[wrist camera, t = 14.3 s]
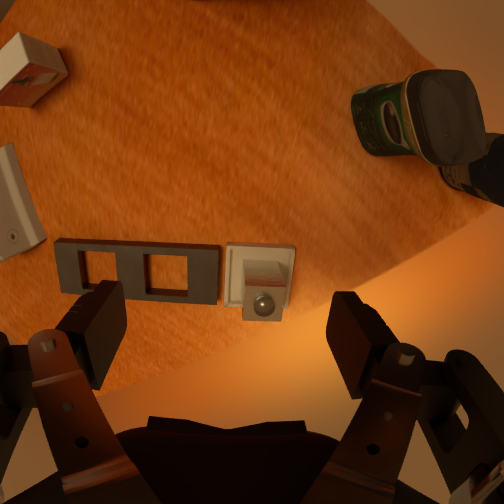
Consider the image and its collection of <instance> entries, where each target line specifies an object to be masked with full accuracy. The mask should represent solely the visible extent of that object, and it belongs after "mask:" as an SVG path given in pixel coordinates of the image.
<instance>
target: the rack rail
mask: <svg viewBox="0 0 504 504" xmlns="http://www.w3.org/2000/svg"><path fill="white" fill-rule="evenodd" d="M54 250H55V257H56V264H57V270H58V276H59V282H60V287H61V293H69V294H78V295H84V294H86V293H87V292H89V291H91V292H93V291H94V289H95V288H96V287H97V286H98V284H92V283H87V276H86V269H85V261H84V252H83V251H98V252H115V257H116V268H117V278H118V281H121V282H122V285H123V290H124V299H131V300H144V301H158V302H173V303H189V304H208V305H217V292H218V262H219V245H207V244H185V243H163V242H141V241H118V240H95V239H71V238H59V239H58V240H56V241H55V242H54ZM147 254H156V255H176V256H187V267H188V290H174V289H158V288H149V284H148V267H147Z"/></svg>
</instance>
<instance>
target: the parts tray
mask: <svg viewBox="0 0 504 504" xmlns="http://www.w3.org/2000/svg"><path fill="white" fill-rule="evenodd" d="M295 250H296V249H295V247H294V245H279V244H260V243H240V242H227V249H226V270H225V293H224V307H242V303H241V277H242V263H243V259H249V260H270V261H277V263H278V266H279V269H280V272H281V275H282V277H283V280H284V283H285V286H286V291H285V298H284V305H283V308H287V309H288V302H289V295H290V288H291V281H292V273H293V265H294V258H295Z"/></svg>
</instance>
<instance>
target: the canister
mask: <svg viewBox="0 0 504 504" xmlns="http://www.w3.org/2000/svg"><path fill="white" fill-rule="evenodd" d="M439 167H440V171H441V174H442V176H443V178H444V180H445V181H446V182H447V184H448V185H450V186H451V187H452V188H454V189H456V190H459V191H464V192H466V193H468V194H471V195H473V196H475V197H478V198H480V199H483V200H486V201H489V202H492V203H494V204H497V205H499V206H502V207H504V134H498V133H486V147H485V152H484V156H483V157H482V158H480V159H478V160H476V161H473V162H470V163H467V164H463V165H456V166H439Z"/></svg>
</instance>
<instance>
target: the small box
mask: <svg viewBox="0 0 504 504" xmlns="http://www.w3.org/2000/svg"><path fill="white" fill-rule="evenodd" d="M67 76H68V72H67V70H66V67H65V65H64V62H63V60H62V58H61V55H60V53H59V51H58V49H57V48H56V47H54V46H51V45H49V44H47V43H45V42H42V41H40V40H38V39H35V38H33V37H31V36H28V35H26V34H23V33H21V32H18V33H17V34H16V35H15V36H14V37H13V38H12V39H11V40H10V41H9V42H8V43H7V44H6V45H5V46H4V47H3V48H2V49H1V50H0V106H14V107H28V108H30V107H31V106H32V105H33V104H34V103H35V102H36V101H37V100H38V99H40V98H41V97H42V96H43V95H44V94H45V93H47V92H48V91H49V90H50V89H51V88H53V87H54V86H55V85H56V84H58V83H59V82H60V81H61V80H63V79H64V78H65V77H67Z"/></svg>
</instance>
